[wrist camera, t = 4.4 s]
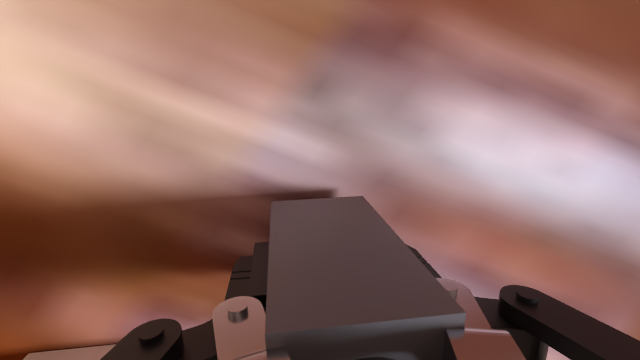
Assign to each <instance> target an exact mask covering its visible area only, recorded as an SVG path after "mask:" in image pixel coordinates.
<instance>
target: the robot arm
mask: <svg viewBox="0 0 640 360" xmlns="http://www.w3.org/2000/svg"><path fill="white" fill-rule="evenodd" d="M407 247H408V248H409V249H410V250H411V251H412V252H413V253H414V254H415V256H416V257H417V258H418V259H419V260H420V261H421V262H422V263H423V265H424V266H425V267H426V268H427V269H428V270H429V271H430V272H431V274H432V275H433V276H434V277H435V278H436V279H437V280H438V281H439V283H440V284H441V285H442V286H443V287H444V288H445V289H446V290H447V292H448V293H449V294H450V295H451V296H452V297H453V298H454V299H455V301H456V302H457V303H458V304H459V305H460V306H461V307H462V308H463V310H464V311H465V312H466V319H465V328H445V336H444V347H443V357H442V360H546V357H547V351H548V346H550V347H552V348H553V349H555V350H556V351H558V352H560V353H561V354H563V355H565V356H566V357H568V358H569V359H571V360H640V341H639V340H637V339H635V338H633V337H631V336H629V335H627V334H625V333H623V332H621V331H619V330H617V329H615V328H613V327H610V326H608V325H606V324H604V323H602V322H600V321H598V320H596V319H594V318H592V317H590V316H588V315H586V314H584V313H582V312H580V311H578V310H576V309H574V308H572V307H570V306H568V305H566V304H564V303H562V302H560V301H558V300H556V299H554V298H552V297H550V296H548V295H546V294H544V293H542V292H540V291H538V290H535V289H532V288H529V287H525V286H519V285H509V286H505V287H503V288H502V289H501V290H500V294H499V300H498V299H488V298H479V297H474V296H473V294H472V292H471V291H470V289H469V288H468V287H466V286H465V285H463V284H462V283H460V282H458V281H455V280H451V279H446V278H442V277H441V276H440V275H439V274H438V273H437V272H436V271H435V270H434V269H433V268H432V267H431V265H430V264H429V263H427V261H426V260H425V259H424V258H422V256H421V255H420V254H419V252H418V251H417V250H416V249H414V248H412V247H410V246H408V245H407ZM268 257H269V242H261V243H255V246H254V253H253V256H243V257H240V258H239V259H238V260H237V261H236V262H235V263H234V265H233V269H232V273H231V277H230V281H229V285H228V289H227V293H226V297H225V301H224V302H222V303H220V304H219V305H218V306H217V307H216V308H215V309H214V311H213V314H212V319H211V320H210V321H208V322H206V323H204V324H202V325H199V326H196V327H193V328H190V329H186V330H183V331H182V328H181V325H180V324H179V322H177V321H175V320H172V319H157V320H153V321H149V322H147V323H144V324H142V325H140V326H138V327H136V328H135V329H133V330H132V331H131V332H130V333H128V334H127V335H126V336H125V337H124V338H123V339H122V340H121V341H120V342H119V343H117V344H116V345H115V346H114V347H113V348H112V349H111V350H110V351H109V352H108V353H107V354H106V355H104V356H103V357H102V358H101V359H100V360H291V359H290V357H289V354H288V352H287V350H286V347H285V346H284V347H278V348H273V349H268V350H266V344H265V320H266V299H267V278H268Z"/></svg>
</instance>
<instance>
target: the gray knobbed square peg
mask: <svg viewBox="0 0 640 360" xmlns="http://www.w3.org/2000/svg"><path fill="white" fill-rule="evenodd" d="M465 319H466V312H465V311H464V310H463V308H462V307H461V306H460V305H459V304H458V303H457V302H456V301H455V299H454V298H453V297H452V296H451V295H450V294H449V293H448V292H447V290H446V289H445V288H444V287H443V286H442V285H441V284H440V283H439V281H438V280H437V279H436V278H435V277H434V276H433V275H432V274H431V272H430V271H429V270H428V269H427V268H426V267H425V266H424V265H423V263H422V262H421V261H420V260H419V259H418V258H417V257H416V256H415V254H414V253H413V252H412V251H411V250H410V249H409V248H408V247H407V245H406V244H405V243H404V242H403V241H402V240H401V239H400V238H399V236H398V235H397V234H396V233H395V232H394V231H393V230H392V229H391V227H390V226H389V225H388V224H387V223H386V222H385V221H384V220H383V218H382V217H381V216H380V215H379V214H378V213H377V212H376V211H375V209H374V208H373V207H372V206H371V205H370V204H369V203H368V202H367V200H366V199H365V198H364V197H363V196H356V197H338V198H320V199H302V200H284V201H271V215H270V236H269V257H268V278H267V299H266V320H265V344H266V350H268V349H273V348H278V347H284V346H285V347H286V350H287V352H288V354H289V357H290V359H291V360H442V357H443V347H444V336H445V328H465Z"/></svg>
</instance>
